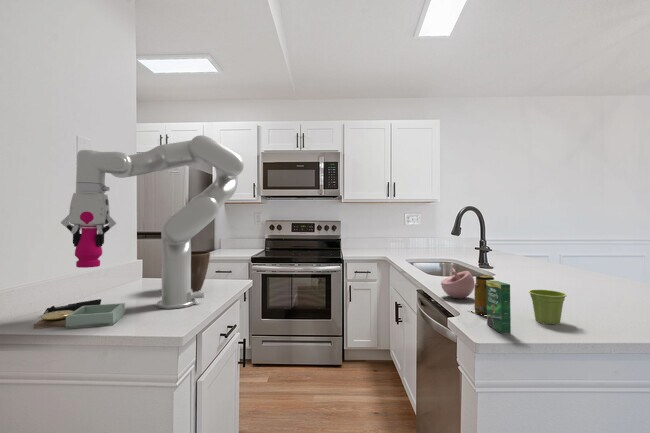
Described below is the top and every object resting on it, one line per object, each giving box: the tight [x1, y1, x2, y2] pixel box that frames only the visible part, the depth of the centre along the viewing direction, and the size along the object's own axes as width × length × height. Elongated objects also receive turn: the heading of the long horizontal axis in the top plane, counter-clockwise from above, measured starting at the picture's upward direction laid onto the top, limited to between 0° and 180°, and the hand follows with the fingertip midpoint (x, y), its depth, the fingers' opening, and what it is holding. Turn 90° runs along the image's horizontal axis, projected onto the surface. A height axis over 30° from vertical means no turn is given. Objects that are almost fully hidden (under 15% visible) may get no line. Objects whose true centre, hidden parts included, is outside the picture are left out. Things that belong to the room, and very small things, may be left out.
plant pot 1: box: [191, 250, 211, 292], centre depth 142 cm, size 15×15×16 cm
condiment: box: [468, 274, 495, 318], centre depth 108 cm, size 7×8×12 cm
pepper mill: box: [74, 212, 103, 269], centre depth 107 cm, size 7×7×20 cm
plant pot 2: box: [528, 289, 567, 325], centre depth 99 cm, size 9×9×9 cm
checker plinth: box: [33, 318, 66, 329], centre depth 98 cm, size 8×8×1 cm
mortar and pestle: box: [440, 267, 476, 299], centre depth 129 cm, size 12×12×12 cm
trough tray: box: [65, 302, 126, 330], centre depth 100 cm, size 12×12×4 cm
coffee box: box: [486, 279, 512, 335], centre depth 93 cm, size 8×3×13 cm, turn 1°
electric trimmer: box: [42, 298, 102, 315], centre depth 111 cm, size 4×16×3 cm, turn 143°
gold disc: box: [41, 310, 74, 321], centre depth 98 cm, size 7×7×2 cm
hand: (88, 245), depth 107 cm, fingers closed on pepper mill, 5 cm apart
